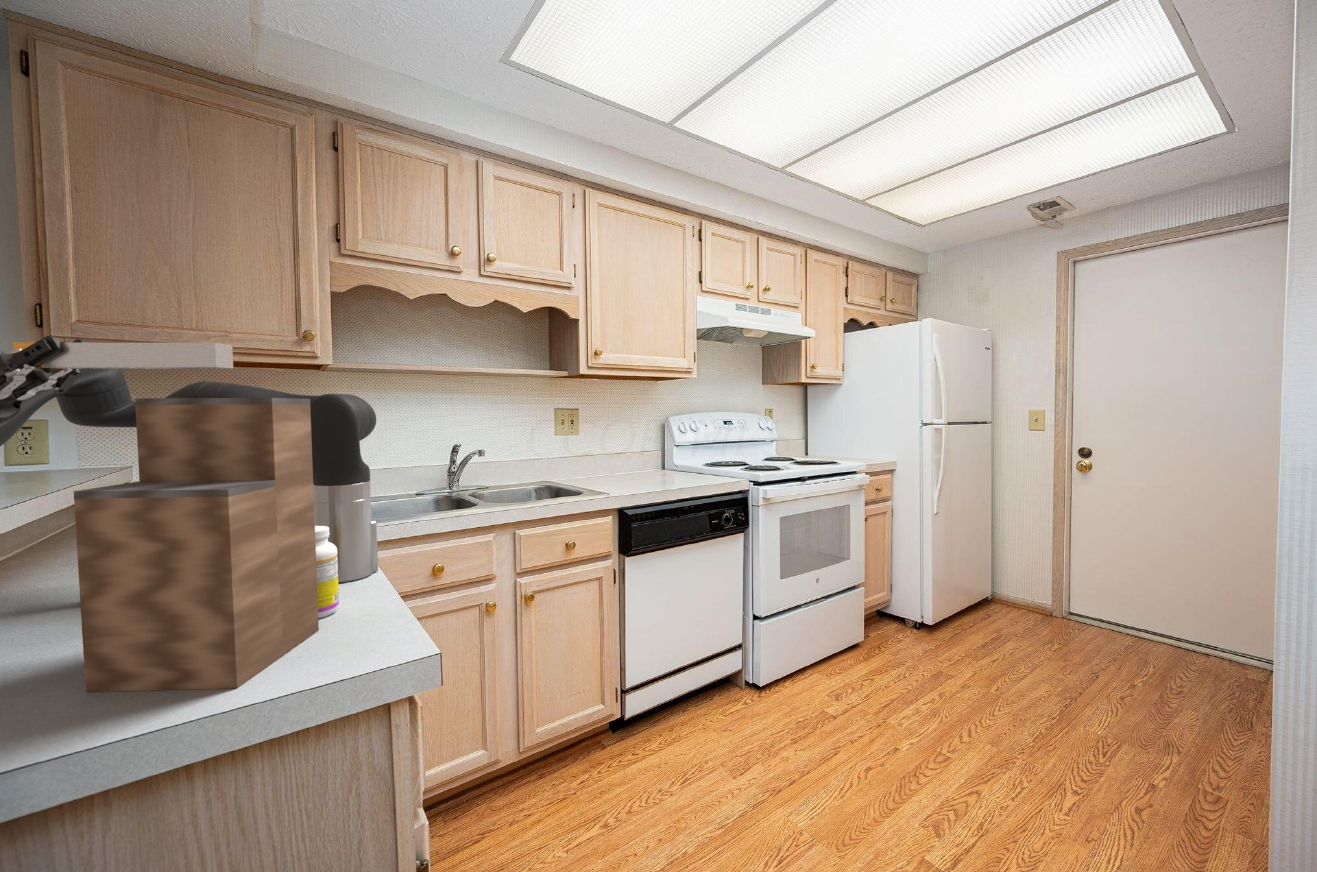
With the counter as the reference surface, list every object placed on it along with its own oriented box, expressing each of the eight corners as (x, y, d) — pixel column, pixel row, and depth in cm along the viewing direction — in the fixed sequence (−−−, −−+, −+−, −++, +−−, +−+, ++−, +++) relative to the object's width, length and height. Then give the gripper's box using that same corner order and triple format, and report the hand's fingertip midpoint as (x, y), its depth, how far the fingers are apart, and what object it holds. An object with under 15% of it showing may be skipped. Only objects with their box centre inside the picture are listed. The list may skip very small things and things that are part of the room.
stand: (85, 692, 61) (67, 397, 60) (199, 633, 77) (187, 399, 76) (237, 688, 62) (223, 396, 60) (318, 630, 78) (309, 398, 76)
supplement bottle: (277, 617, 83) (273, 531, 82) (322, 603, 89) (319, 522, 88) (304, 625, 80) (301, 535, 79) (349, 610, 86) (346, 526, 85)
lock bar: (14, 367, 69) (12, 342, 69) (41, 368, 72) (39, 344, 72) (215, 367, 70) (214, 342, 70) (233, 368, 73) (232, 345, 73)
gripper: (-143, 385, 63) (-9, 308, 63) (-1, 388, 77) (108, 325, 77) (-103, 442, 64) (30, 366, 64) (30, 436, 78) (139, 373, 78)
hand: (72, 344), depth 71 cm, fingers closed on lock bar, 3 cm apart
